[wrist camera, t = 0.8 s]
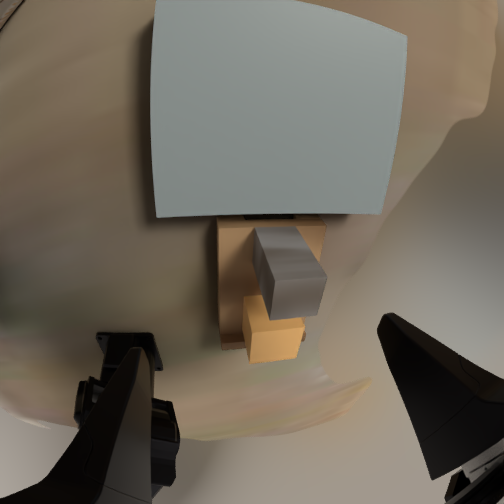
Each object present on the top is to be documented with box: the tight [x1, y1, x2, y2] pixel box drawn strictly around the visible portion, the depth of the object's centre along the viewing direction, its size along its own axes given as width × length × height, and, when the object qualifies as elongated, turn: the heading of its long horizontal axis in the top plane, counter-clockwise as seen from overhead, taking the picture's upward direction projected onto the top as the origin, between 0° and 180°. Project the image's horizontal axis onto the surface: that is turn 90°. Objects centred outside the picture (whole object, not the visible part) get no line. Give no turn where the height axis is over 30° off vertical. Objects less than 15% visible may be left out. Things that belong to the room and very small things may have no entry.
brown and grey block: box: [217, 214, 327, 350], centre depth 21 cm, size 12×8×8 cm, turn 177°
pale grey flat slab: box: [150, 0, 407, 218], centre depth 16 cm, size 14×16×3 cm
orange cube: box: [242, 295, 305, 364], centre depth 23 cm, size 4×4×4 cm
